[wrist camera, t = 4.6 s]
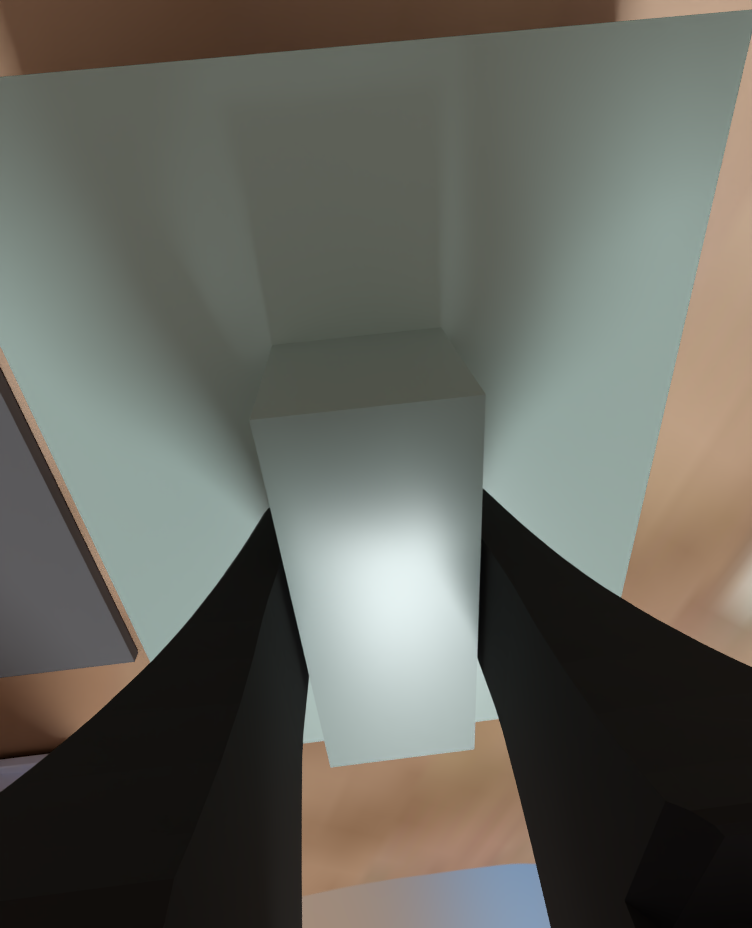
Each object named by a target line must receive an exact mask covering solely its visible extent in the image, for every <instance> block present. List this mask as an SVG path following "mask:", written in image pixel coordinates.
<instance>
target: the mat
mask: <svg viewBox="0 0 752 928" xmlns="http://www.w3.org/2000/svg"><path fill="white" fill-rule="evenodd" d="M137 654H138V651H137V649H136V647H135V645H134V643H133V641H132V639H131V637H130V635H129V632H128V630H127V628H126V626H125V624H124V622H123V620H122V618H121V616H120V614H119V612H118V610H117V608H116V606H115V604H114V602H113V600H112V598H111V595H110V593H109V591H108V589H107V587H106V585H105V583H104V581H103V579H102V577H101V575H100V573H99V571H98V569H97V567H96V565H95V563H94V561H93V558H92V556H91V554H90V552H89V550H88V548H87V546H86V544H85V542H84V540H83V538H82V536H81V534H80V532H79V530H78V528H77V526H76V524H75V522H74V519H73V517H72V515H71V513H70V511H69V509H68V507H67V505H66V503H65V501H64V499H63V497H62V495H61V493H60V491H59V489H58V487H57V485H56V482H55V480H54V478H53V476H52V474H51V472H50V470H49V468H48V466H47V464H46V462H45V460H44V458H43V456H42V454H41V452H40V450H39V448H38V445H37V443H36V441H35V439H34V437H33V435H32V433H31V431H30V429H29V427H28V425H27V423H26V421H25V419H24V417H23V415H22V413H21V411H20V408H19V406H18V404H17V402H16V400H15V398H14V396H13V394H12V392H11V390H10V388H9V386H8V384H7V382H6V380H5V378H4V376H3V374H2V372H1V369H0V678H2V677H11V676H19V675H27V674H36V673H44V672H52V671H61V670H69V669H78V668H86V667H94V666H103V665H111V664H119V663H128V662H135V659H136V657H137Z"/></svg>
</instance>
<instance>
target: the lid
mask: <svg viewBox="0 0 752 928" xmlns="http://www.w3.org/2000/svg"><path fill="white" fill-rule="evenodd" d="M751 34H752V10H742V11H731V12H719V13H708V14H697V15H686V16H675V17H664V18H652V19H641V20H630V21H619V22H608V23H597V24H586V25H574V26H563V27H552V28H541V29H530V30H519V31H507V32H496V33H485V34H474V35H463V36H452V37H441V38H429V39H418V40H407V41H396V42H385V43H374V44H362V45H351V46H340V47H329V48H318V49H307V50H295V51H284V52H273V53H262V54H251V55H240V56H229V57H217V58H206V59H195V60H184V61H173V62H162V63H150V64H139V65H128V66H117V67H106V68H95V69H84V70H72V71H61V72H50V73H39V74H28V75H17V76H5V77H0V346H1V349H2V351H3V353H4V355H5V357H6V359H7V361H8V363H9V365H10V368H11V370H12V372H13V374H14V376H15V378H16V380H17V382H18V384H19V387H20V389H21V391H22V393H23V395H24V397H25V399H26V401H27V403H28V405H29V408H30V410H31V412H32V414H33V416H34V418H35V420H36V422H37V424H38V427H39V429H40V431H41V433H42V435H43V437H44V439H45V441H46V443H47V446H48V448H49V450H50V452H51V454H52V456H53V458H54V460H55V462H56V464H57V467H58V469H59V471H60V473H61V475H62V477H63V479H64V481H65V483H66V486H67V488H68V490H69V492H70V494H71V496H72V498H73V500H74V502H75V504H76V507H77V509H78V511H79V513H80V515H81V517H82V519H83V521H84V523H85V526H86V528H87V530H88V532H89V534H90V536H91V538H92V540H93V542H94V545H95V547H96V549H97V551H98V553H99V555H100V557H101V559H102V561H103V563H104V566H105V568H106V570H107V572H108V574H109V576H110V578H111V580H112V582H113V585H114V587H115V589H116V591H117V593H118V595H119V597H120V599H121V601H122V604H123V606H124V608H125V610H126V612H127V614H128V616H129V618H130V620H131V622H132V625H133V627H134V629H135V631H136V633H137V635H138V637H139V639H140V641H141V644H142V646H143V648H144V650H145V652H146V654H147V656H148V658H149V660H150V662H151V661H152V660H153V659H154V658H155V657H156V656H157V655H158V654H159V653H160V652H161V651H162V650H163V648H164V647H165V646H166V645H167V644H168V643H169V642H170V641H171V640H172V639H173V638H174V636H175V635H176V634H177V633H178V632H179V631H180V630H181V628H182V627H183V626H184V625H185V624H186V622H187V621H188V620H189V619H190V618H191V617H192V615H193V614H194V613H195V611H196V610H197V609H198V608H199V606H200V605H201V604H202V603H203V601H204V600H205V599H206V597H207V596H208V595H209V594H210V592H211V591H212V590H213V589H214V587H215V586H216V585H217V583H218V582H219V581H220V579H221V578H222V576H223V575H224V573H225V572H226V571H227V569H228V568H229V566H230V565H231V563H232V562H233V561H234V559H235V558H236V556H237V555H238V553H239V552H240V550H241V549H242V547H243V546H244V544H245V543H246V541H247V540H248V538H249V537H250V535H251V533H252V532H253V530H254V529H255V527H256V525H257V524H258V522H259V521H260V519H261V517H262V516H263V514H264V513H265V511H266V510H267V509H268V508H270V510H271V514H272V518H273V523H274V527H275V531H276V535H277V540H278V544H279V548H280V553H281V557H282V561H283V565H284V570H285V574H286V578H287V583H288V587H289V591H290V596H291V600H292V604H293V608H294V613H295V617H296V621H297V626H298V630H299V634H300V638H301V643H302V647H303V651H304V656H305V660H306V664H307V668H308V673H309V684H308V694H307V703H306V713H305V723H304V734H303V743H311V742H319V741H325V746H326V750H327V754H328V759H329V763H330V767H338V766H346V765H354V764H362V763H370V762H377V761H385V760H393V759H401V758H409V757H417V756H425V755H433V754H441V753H449V752H456V751H464V750H472V749H474V742H475V722H478V721H486V720H494V719H499V718H498V715H497V712H496V708H495V706H494V703H493V700H492V697H491V695H490V692H489V689H488V686H487V683H486V681H485V678H484V675H483V672H482V670H481V667H480V664H479V661H478V659H477V649H478V618H479V587H480V556H481V525H482V494H483V489H484V490H486V491H487V492H488V493H489V494H490V495H491V496H492V497H493V498H494V499H495V500H496V501H497V502H498V503H500V504H501V505H502V506H503V507H504V508H505V509H506V510H507V511H508V512H509V513H510V514H512V515H513V516H514V517H515V518H516V519H517V520H518V521H519V522H520V523H522V524H523V525H524V526H525V527H526V528H527V529H528V530H530V531H531V532H532V533H533V534H534V535H536V536H537V537H538V538H539V539H540V540H542V541H543V542H544V543H545V544H546V545H548V546H549V547H550V548H551V549H553V550H554V551H555V552H556V553H558V554H559V555H560V556H561V557H563V558H564V559H565V560H567V561H568V562H569V563H571V564H572V565H574V566H575V567H576V568H578V569H579V570H580V571H582V572H583V573H584V574H586V575H587V576H589V577H590V578H592V579H593V580H595V581H596V582H597V583H599V584H600V585H602V586H603V587H605V588H607V589H608V590H610V591H611V592H613V593H615V594H616V595H618V596H619V597H621V595H622V590H623V586H624V582H625V577H626V573H627V569H628V564H629V560H630V556H631V552H632V547H633V543H634V539H635V534H636V530H637V526H638V521H639V517H640V513H641V508H642V504H643V500H644V496H645V491H646V487H647V483H648V478H649V474H650V470H651V465H652V461H653V457H654V452H655V448H656V444H657V440H658V435H659V431H660V427H661V422H662V418H663V414H664V409H665V405H666V401H667V396H668V392H669V388H670V383H671V379H672V375H673V371H674V366H675V362H676V358H677V353H678V349H679V345H680V340H681V336H682V332H683V327H684V323H685V319H686V315H687V310H688V306H689V302H690V297H691V293H692V289H693V284H694V280H695V276H696V271H697V267H698V263H699V259H700V254H701V250H702V246H703V241H704V237H705V233H706V228H707V224H708V220H709V215H710V211H711V207H712V202H713V198H714V194H715V190H716V185H717V181H718V177H719V172H720V168H721V164H722V159H723V155H724V151H725V146H726V142H727V138H728V134H729V129H730V125H731V121H732V116H733V112H734V108H735V103H736V99H737V95H738V90H739V86H740V82H741V78H742V73H743V69H744V65H745V60H746V56H747V52H748V47H749V43H750V39H751Z"/></svg>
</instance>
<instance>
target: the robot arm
mask: <svg viewBox="0 0 752 928" xmlns="http://www.w3.org/2000/svg"><path fill="white" fill-rule="evenodd" d="M477 659H478V661H479V664H480V667H481V670H482V672H483V675H484V678H485V681H486V683H487V686H488V689H489V692H490V695H491V697H492V700H493V703H494V706H495V708H496V712H497V715H498V718H499V721H500V724H501V727H502V731H503V734H504V738H505V742H506V746H507V750H508V753H509V757H510V761H511V765H512V769H513V773H514V777H515V780H516V784H517V788H518V792H519V796H520V800H521V804H522V808H523V812H524V816H525V821H526V825H527V829H528V833H529V837H530V841H531V845H532V849H533V853H534V857H535V862H536V866H537V870H538V874H539V879H540V883H541V887H542V891H543V896H544V900H545V904H546V908H547V913H548V917H549V921H550V926H551V928H752V667H750V666H748V665H746V664H744V663H741V662H739V661H737V660H735V659H733V658H731V657H729V656H727V655H725V654H723V653H721V652H718V651H716V650H714V649H712V648H710V647H708V646H706V645H704V644H702V643H700V642H698V641H696V640H695V639H693V638H691V637H689V636H687V635H685V634H683V633H682V632H680V631H678V630H676V629H674V628H672V627H670V626H669V625H667V624H665V623H663V622H661V621H659V620H657V619H656V618H654V617H652V616H651V615H649V614H647V613H645V612H644V611H642V610H640V609H638V608H637V607H635V606H634V605H632V604H630V603H629V602H627V601H626V600H624V599H622V598H621V597H619V596H618V595H616V594H615V593H613V592H611V591H610V590H608V589H607V588H605V587H603V586H602V585H600V584H599V583H597V582H596V581H595V580H593V579H592V578H590V577H589V576H587V575H586V574H584V573H583V572H582V571H580V570H579V569H578V568H576V567H575V566H574V565H572V564H571V563H569V562H568V561H567V560H565V559H564V558H563V557H561V556H560V555H559V554H558V553H556V552H555V551H554V550H553V549H551V548H550V547H549V546H548V545H546V544H545V543H544V542H543V541H542V540H540V539H539V538H538V537H537V536H536V535H534V534H533V533H532V532H531V531H530V530H528V529H527V528H526V527H525V526H524V525H523V524H522V523H520V522H519V521H518V520H517V519H516V518H515V517H514V516H513V515H512V514H510V513H509V512H508V511H507V510H506V509H505V508H504V507H503V506H502V505H501V504H500V503H498V502H497V501H496V500H495V499H494V498H493V497H492V496H491V495H490V494H489V493H488V492H487V491H486V490H484V489H483V494H482V525H481V556H480V587H479V618H478V649H477ZM308 684H309V673H308V668H307V664H306V660H305V656H304V651H303V647H302V643H301V638H300V634H299V630H298V626H297V621H296V617H295V613H294V608H293V604H292V600H291V596H290V591H289V587H288V583H287V578H286V574H285V570H284V565H283V561H282V557H281V553H280V548H279V544H278V540H277V535H276V531H275V527H274V523H273V518H272V514H271V510H270V508H268V509H267V510H266V511H265V513H264V514H263V516H262V517H261V519H260V521H259V522H258V524H257V525H256V527H255V529H254V530H253V532H252V533H251V535H250V537H249V538H248V540H247V541H246V543H245V544H244V546H243V547H242V549H241V550H240V552H239V553H238V555H237V556H236V558H235V559H234V561H233V562H232V563H231V565H230V566H229V568H228V569H227V571H226V572H225V573H224V575H223V576H222V578H221V579H220V581H219V582H218V583H217V585H216V586H215V587H214V589H213V590H212V591H211V592H210V594H209V595H208V596H207V597H206V599H205V600H204V601H203V603H202V604H201V605H200V606H199V608H198V609H197V610H196V611H195V613H194V614H193V615H192V617H191V618H190V619H189V620H188V621H187V622H186V624H185V625H184V626H183V627H182V628H181V630H180V631H179V632H178V633H177V634H176V635H175V636H174V638H173V639H172V640H171V641H170V642H169V643H168V644H167V645H166V646H165V647H164V648H163V650H162V651H161V652H160V653H159V654H158V655H157V656H156V657H155V658H154V659H153V660H152V661H151V662H150V663H149V664H148V665H147V666H146V667H145V668H144V669H143V670H142V671H141V672H140V673H139V674H138V675H137V676H136V677H135V678H134V679H133V680H132V681H131V682H130V683H129V684H128V685H127V686H126V687H125V688H123V689H122V690H121V691H120V692H119V693H118V694H117V695H116V696H115V697H114V698H113V699H112V700H111V701H110V702H109V703H108V704H106V705H105V706H104V707H103V708H102V709H101V710H100V711H99V712H98V713H97V714H96V715H95V716H93V717H92V718H91V719H90V720H89V721H88V722H86V723H85V724H84V725H83V726H82V727H81V728H79V729H78V730H77V731H76V732H75V733H74V734H72V735H71V736H70V737H69V738H68V739H67V740H65V741H64V742H63V743H62V744H61V745H59V746H58V747H57V748H56V749H54V750H53V751H52V752H51V753H49V754H41V755H33V756H25V757H17V758H9V759H1V760H0V928H302V750H303V734H304V723H305V713H306V703H307V694H308Z"/></svg>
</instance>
